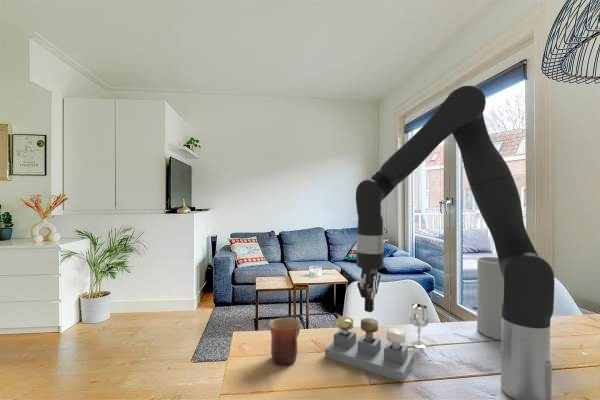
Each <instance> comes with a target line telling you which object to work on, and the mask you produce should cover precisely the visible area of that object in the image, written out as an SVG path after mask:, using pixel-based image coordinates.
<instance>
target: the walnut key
mask: <svg viewBox="0 0 600 400" xmlns="http://www.w3.org/2000/svg"><path fill="white" fill-rule="evenodd" d="M360 329H361V330H362V331H363V332H365V335H366V342H368V343H372V344H373V337H374V332H375V333H376V332H378V331H379V321H378V320H377V319H375V318H370V317H369V318H368V317H365V318H361V320H360Z"/></svg>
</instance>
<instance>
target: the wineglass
mask: <svg viewBox="0 0 600 400" xmlns="http://www.w3.org/2000/svg"><path fill="white" fill-rule="evenodd" d="M408 317H409V321H410V323H411V325H413V326H414V327H416V328H417V329H416V331H417V340H414V341H413V340H412V341H411V343H410V345H412V347H416V348H419V349H424V348H426V347H427V344H426V343H425V342H423V341H421V337H420V335H421V331H422V330H421V328H424V327H426V326H428V325H429V323H430V322H429V321H430V315H429V309H428V306H427V305H424V304H420V303H413V304H411V305H410V309H409V314H408Z"/></svg>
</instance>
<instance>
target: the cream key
mask: <svg viewBox="0 0 600 400" xmlns="http://www.w3.org/2000/svg"><path fill="white" fill-rule="evenodd" d="M386 340H387V341H388V342H389V341H390V342H392V349H395V350H398V351H400V344H404V343H406V332H405V330H402V329H400V328H395V327H392V328H388V329H387V330H386Z"/></svg>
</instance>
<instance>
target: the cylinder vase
mask: <svg viewBox="0 0 600 400" xmlns="http://www.w3.org/2000/svg"><path fill="white" fill-rule="evenodd" d="M476 259H477V262H476V263H477V269H476V270H477V277H476V278H477V280H476V281H477V282H476V285H477V286H476V289H477V290H476V291H477V292H476V293H477V294H476V295H477V296H476V297H477V298H476V329H477V330H478V332H479V333H480V334H481V335H483V336H485V337H487V338H489V337H490V339H492V338H493V340H497V341H501V326H502V305H503V300H504V277H503V276H502V273H501V270H500V265H499V260H498V256H481V257H477V258H476Z"/></svg>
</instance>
